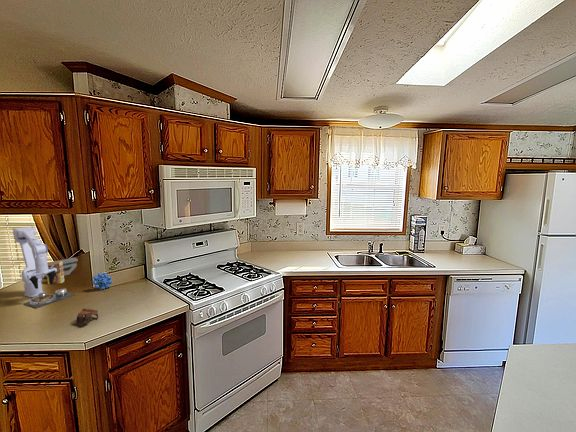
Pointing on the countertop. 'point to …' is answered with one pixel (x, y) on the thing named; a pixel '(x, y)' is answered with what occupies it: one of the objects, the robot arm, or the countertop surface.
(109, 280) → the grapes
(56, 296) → the gear carrier
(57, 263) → the candy box
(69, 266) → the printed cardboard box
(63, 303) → the countertop surface
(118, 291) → the countertop surface
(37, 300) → the planet gear
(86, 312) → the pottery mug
